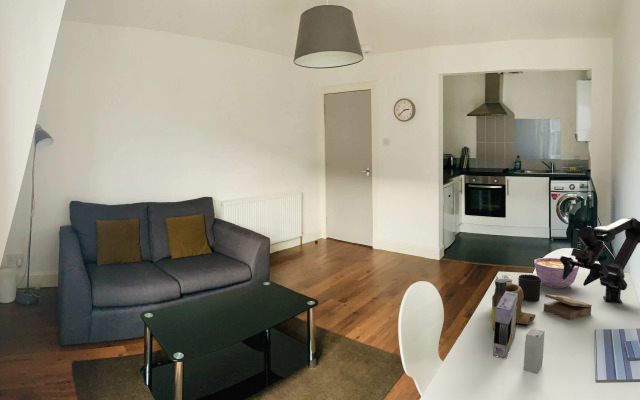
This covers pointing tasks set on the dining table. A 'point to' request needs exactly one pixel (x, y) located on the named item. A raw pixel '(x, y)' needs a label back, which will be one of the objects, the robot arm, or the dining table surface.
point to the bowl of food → (554, 272)
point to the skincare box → (533, 350)
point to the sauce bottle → (497, 297)
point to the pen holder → (530, 287)
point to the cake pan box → (505, 324)
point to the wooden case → (566, 310)
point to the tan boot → (520, 305)
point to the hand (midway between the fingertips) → (573, 282)
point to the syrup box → (504, 278)
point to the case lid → (568, 300)
